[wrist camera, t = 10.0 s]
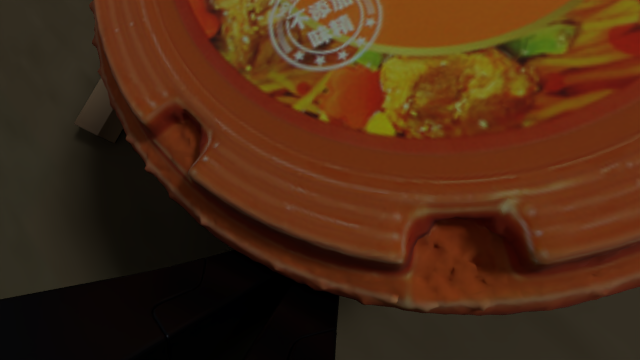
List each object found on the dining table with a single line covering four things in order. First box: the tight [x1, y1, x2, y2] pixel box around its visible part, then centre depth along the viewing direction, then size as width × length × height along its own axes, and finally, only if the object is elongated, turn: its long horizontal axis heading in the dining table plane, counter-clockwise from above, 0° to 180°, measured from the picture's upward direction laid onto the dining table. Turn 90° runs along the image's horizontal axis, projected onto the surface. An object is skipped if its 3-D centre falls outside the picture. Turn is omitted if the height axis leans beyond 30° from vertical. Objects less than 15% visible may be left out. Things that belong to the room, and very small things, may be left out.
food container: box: [90, 0, 640, 315], centre depth 12 cm, size 16×16×11 cm
